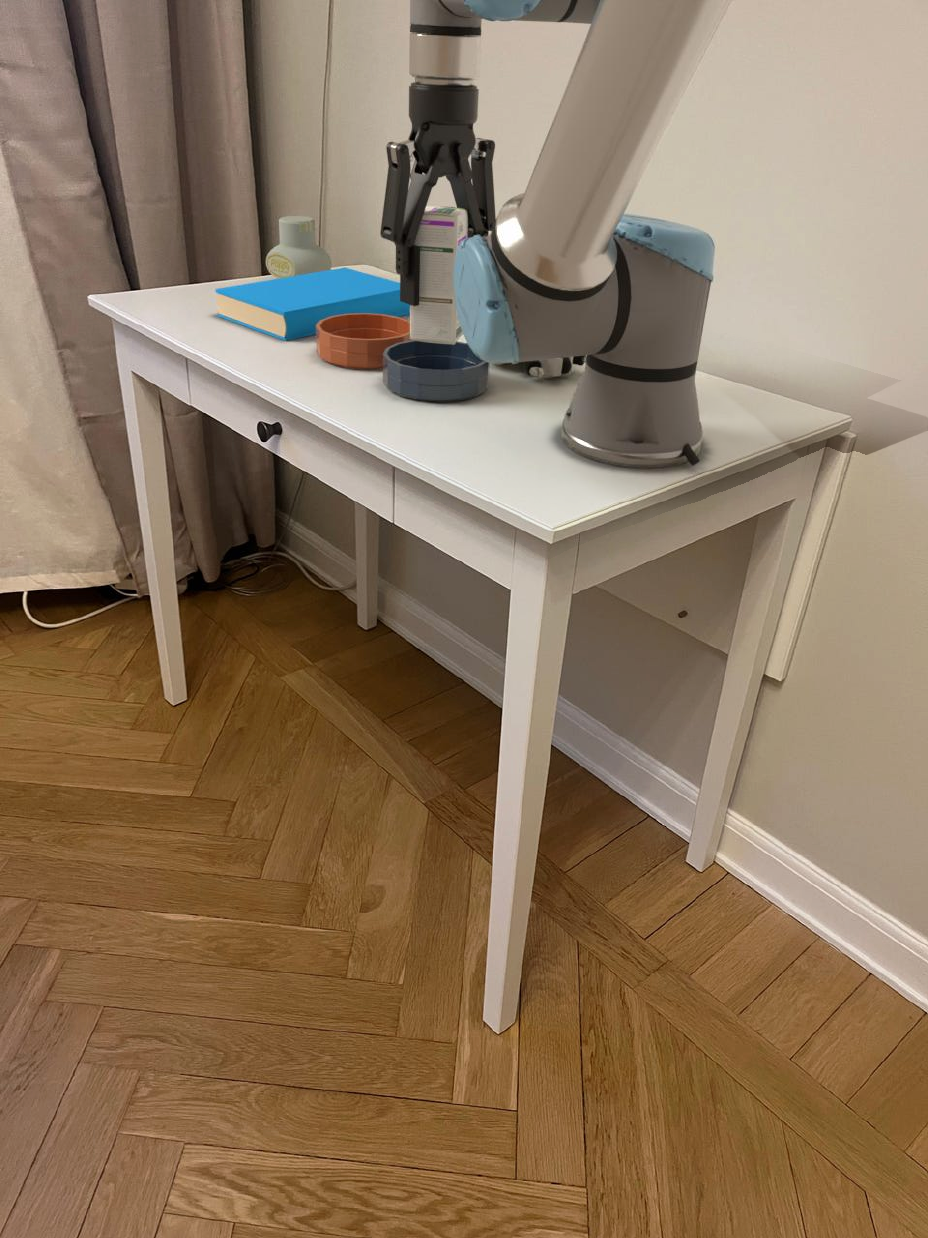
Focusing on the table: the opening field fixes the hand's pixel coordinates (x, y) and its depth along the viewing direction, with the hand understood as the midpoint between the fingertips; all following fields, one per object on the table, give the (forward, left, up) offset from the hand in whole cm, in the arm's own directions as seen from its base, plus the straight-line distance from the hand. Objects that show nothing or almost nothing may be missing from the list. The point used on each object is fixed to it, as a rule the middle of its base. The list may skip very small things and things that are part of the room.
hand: (438, 298), depth 117 cm
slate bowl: (0, 0, -11) cm, 11 cm away
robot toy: (-1, -15, -11) cm, 19 cm away
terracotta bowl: (+15, 0, -11) cm, 18 cm away
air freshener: (+56, -15, -11) cm, 59 cm away
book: (+36, -6, -11) cm, 38 cm away
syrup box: (0, 0, -5) cm, 5 cm away
